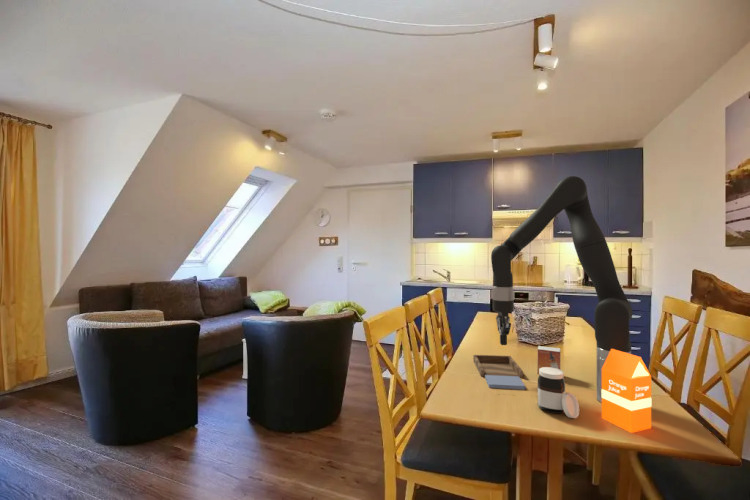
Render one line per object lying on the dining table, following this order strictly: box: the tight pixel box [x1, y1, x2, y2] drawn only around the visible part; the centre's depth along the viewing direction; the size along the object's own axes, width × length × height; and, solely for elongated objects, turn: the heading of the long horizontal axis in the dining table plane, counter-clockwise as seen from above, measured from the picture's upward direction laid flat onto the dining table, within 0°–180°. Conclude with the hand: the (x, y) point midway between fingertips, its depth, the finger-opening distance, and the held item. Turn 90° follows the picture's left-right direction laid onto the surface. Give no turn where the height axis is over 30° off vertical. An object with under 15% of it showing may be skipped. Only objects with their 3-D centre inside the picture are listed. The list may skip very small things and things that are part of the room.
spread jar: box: [537, 367, 580, 419], centre depth 108 cm, size 12×11×12 cm
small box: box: [536, 345, 561, 375], centre depth 137 cm, size 8×6×10 cm
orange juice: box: [601, 349, 653, 434], centre depth 100 cm, size 8×9×20 cm
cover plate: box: [484, 375, 526, 391], centre depth 127 cm, size 9×12×2 cm
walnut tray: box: [473, 354, 524, 379], centre depth 142 cm, size 18×15×4 cm
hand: (503, 344), depth 132 cm, fingers closed
